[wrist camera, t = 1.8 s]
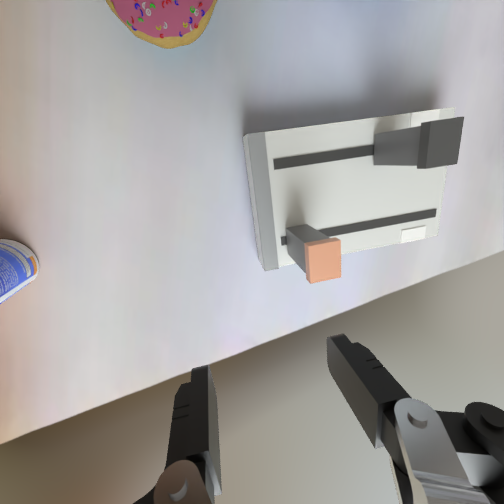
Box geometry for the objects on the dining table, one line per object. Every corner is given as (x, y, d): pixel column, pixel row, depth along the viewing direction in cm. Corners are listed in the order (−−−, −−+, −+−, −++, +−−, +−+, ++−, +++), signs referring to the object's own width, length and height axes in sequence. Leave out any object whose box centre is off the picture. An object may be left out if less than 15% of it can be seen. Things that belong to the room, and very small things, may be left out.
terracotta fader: (283, 226, 27) (308, 246, 20) (308, 221, 27) (340, 240, 20) (286, 255, 28) (310, 283, 21) (310, 251, 28) (341, 277, 22)
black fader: (373, 131, 25) (430, 121, 19) (398, 128, 25) (464, 116, 19) (371, 167, 26) (425, 169, 20) (396, 163, 26) (456, 163, 20)
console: (242, 137, 26) (247, 133, 23) (430, 112, 29) (458, 106, 25) (258, 260, 31) (265, 271, 28) (418, 229, 34) (440, 236, 30)
